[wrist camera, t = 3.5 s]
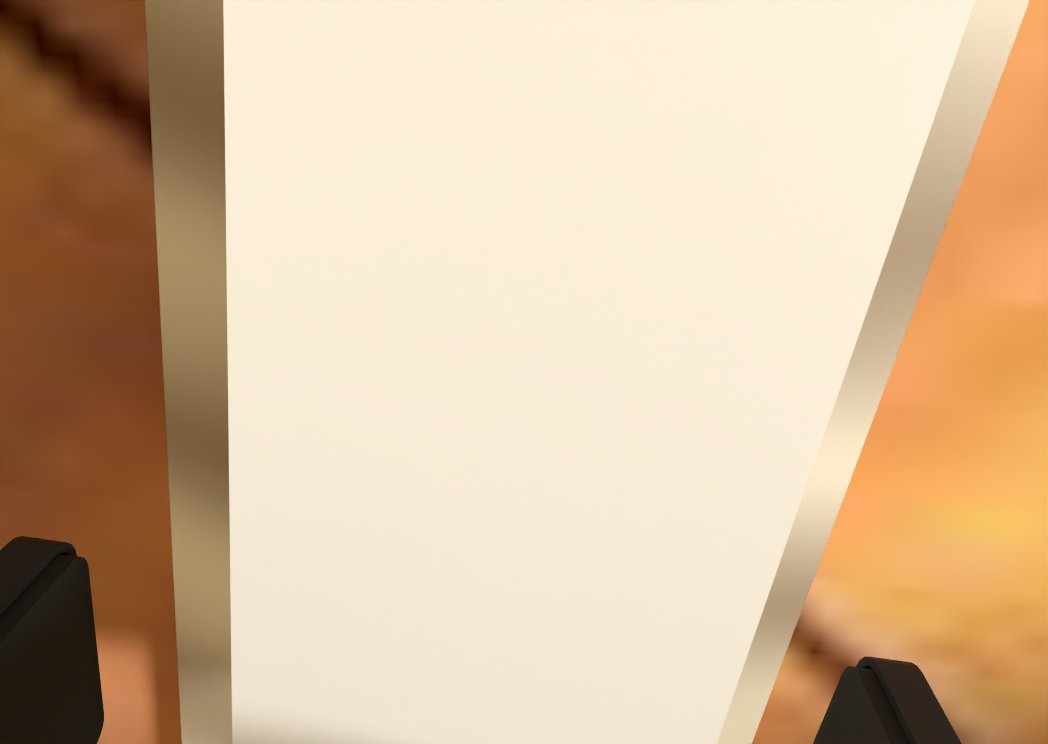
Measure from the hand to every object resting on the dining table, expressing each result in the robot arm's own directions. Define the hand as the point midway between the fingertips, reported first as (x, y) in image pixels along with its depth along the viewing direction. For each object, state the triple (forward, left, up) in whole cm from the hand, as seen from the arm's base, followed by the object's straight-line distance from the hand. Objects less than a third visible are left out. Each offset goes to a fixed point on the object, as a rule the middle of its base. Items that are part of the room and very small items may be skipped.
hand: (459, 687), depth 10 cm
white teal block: (+2, -3, -4) cm, 6 cm away
